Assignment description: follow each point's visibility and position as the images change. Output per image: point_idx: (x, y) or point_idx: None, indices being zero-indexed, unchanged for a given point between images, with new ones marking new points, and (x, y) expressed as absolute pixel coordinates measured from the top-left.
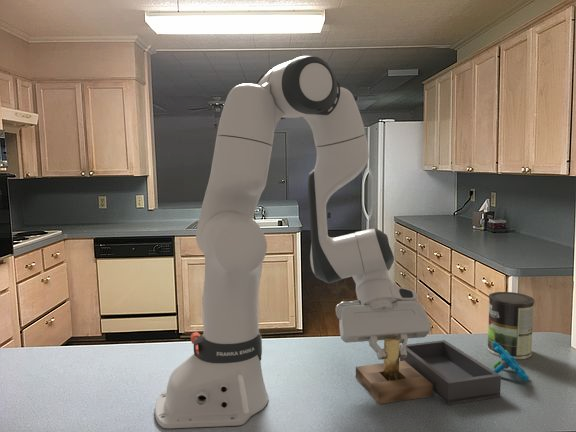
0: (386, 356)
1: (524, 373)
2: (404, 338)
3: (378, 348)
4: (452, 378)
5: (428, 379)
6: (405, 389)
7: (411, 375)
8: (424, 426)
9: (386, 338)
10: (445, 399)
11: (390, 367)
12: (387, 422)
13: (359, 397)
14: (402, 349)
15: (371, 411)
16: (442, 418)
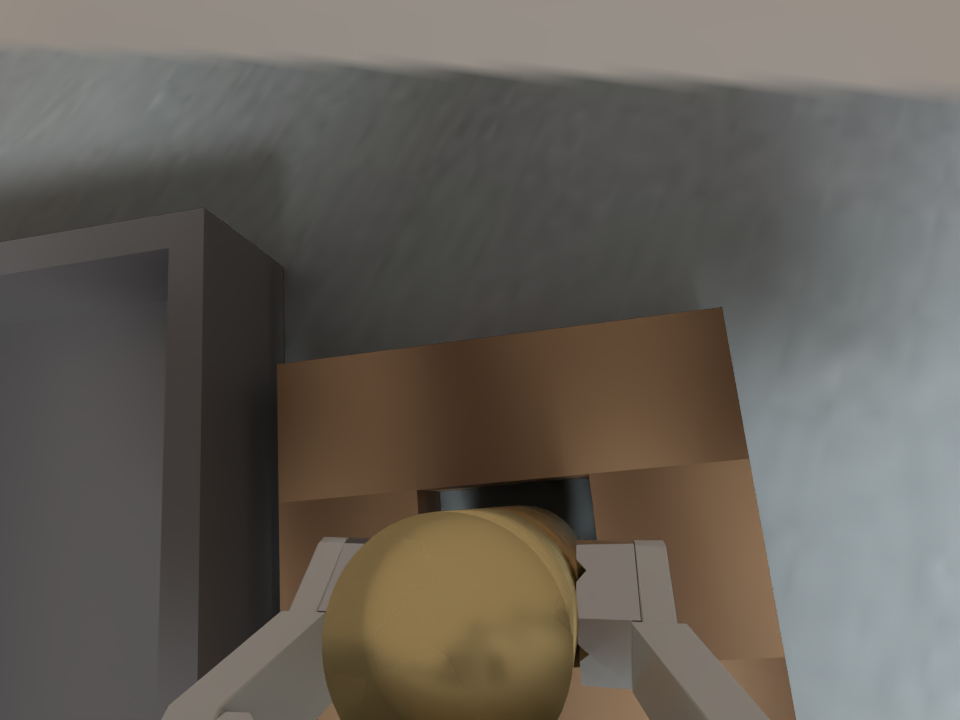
0: (577, 542)
1: None
2: (212, 718)
3: (674, 628)
4: (80, 526)
5: (255, 485)
6: (494, 340)
7: (358, 534)
8: (515, 80)
9: (519, 713)
10: (273, 285)
11: (542, 517)
12: (712, 128)
13: (827, 444)
14: None
15: (782, 251)
16: (385, 143)
